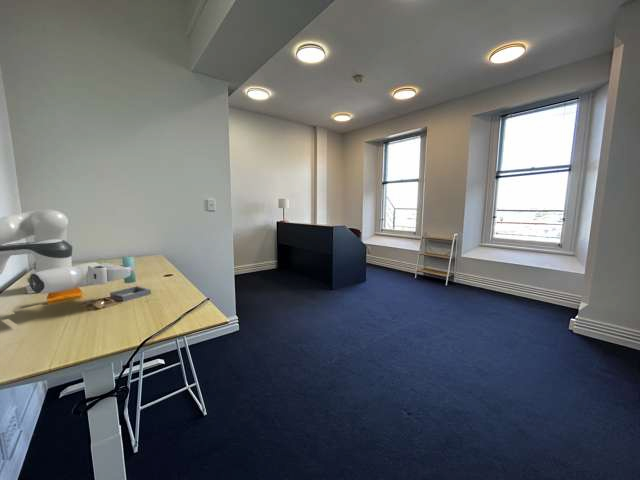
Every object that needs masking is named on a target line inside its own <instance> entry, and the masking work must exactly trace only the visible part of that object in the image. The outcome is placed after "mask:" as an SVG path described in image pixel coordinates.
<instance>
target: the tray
mask: <svg viewBox="0 0 640 480" xmlns="http://www.w3.org/2000/svg"><path fill="white" fill-rule="evenodd" d="M151 294H152V290H151V289H150V288H145V287H143V286H139V285H136V286H133V287H127V288H124V289H119V290H115V291H111V292H109V298H110V299H113V300H116V301H117V300H118V301H119V302H122V303H124V302H127V301H131V300H135V299H138V298H142V297H145V296H149V295H151Z"/></svg>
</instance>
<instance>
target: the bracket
mask: <svg viewBox="0 0 640 480" xmlns="http://www.w3.org/2000/svg"><path fill="white" fill-rule="evenodd" d="M83 298H84V294H83V292H82V290H81V287H75V288H73V289H70V290H66V291H60V292H54V293H47V296H46V304H47V305H54V304H60V303H65V302H70V301H77V300H82V299H83Z"/></svg>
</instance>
